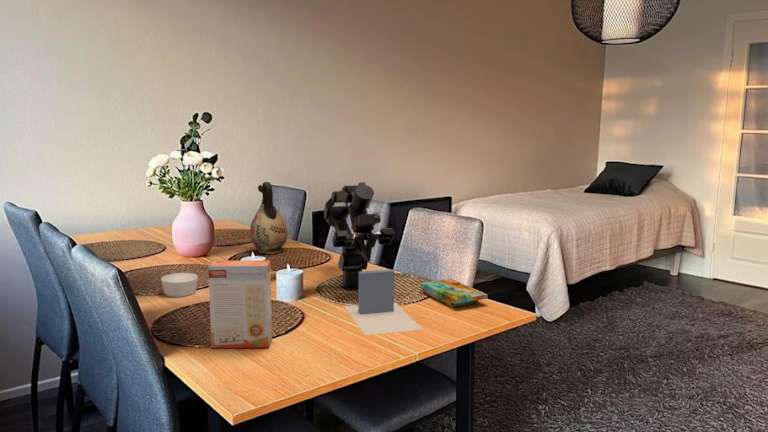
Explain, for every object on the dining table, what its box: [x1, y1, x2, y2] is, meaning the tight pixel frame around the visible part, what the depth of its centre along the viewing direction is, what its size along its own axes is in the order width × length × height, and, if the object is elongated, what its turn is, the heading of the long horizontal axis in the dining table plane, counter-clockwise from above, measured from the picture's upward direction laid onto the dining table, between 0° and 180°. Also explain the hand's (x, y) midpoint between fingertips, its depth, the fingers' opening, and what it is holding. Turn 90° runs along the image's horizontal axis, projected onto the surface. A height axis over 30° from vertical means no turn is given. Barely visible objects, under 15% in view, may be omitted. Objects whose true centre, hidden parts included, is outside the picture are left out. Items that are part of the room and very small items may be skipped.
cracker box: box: [207, 260, 273, 349], centre depth 141 cm, size 14×6×21 cm, turn 92°
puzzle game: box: [419, 278, 489, 308], centre depth 181 cm, size 12×5×20 cm
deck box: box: [357, 268, 395, 314], centre depth 167 cm, size 2×10×12 cm, turn 107°
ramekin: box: [160, 272, 199, 298], centre depth 184 cm, size 11×11×5 cm
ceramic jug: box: [249, 181, 289, 255], centre depth 238 cm, size 17×15×30 cm
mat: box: [343, 301, 424, 336], centre depth 163 cm, size 24×16×1 cm, turn 17°
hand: (368, 260), depth 173 cm, fingers closed
